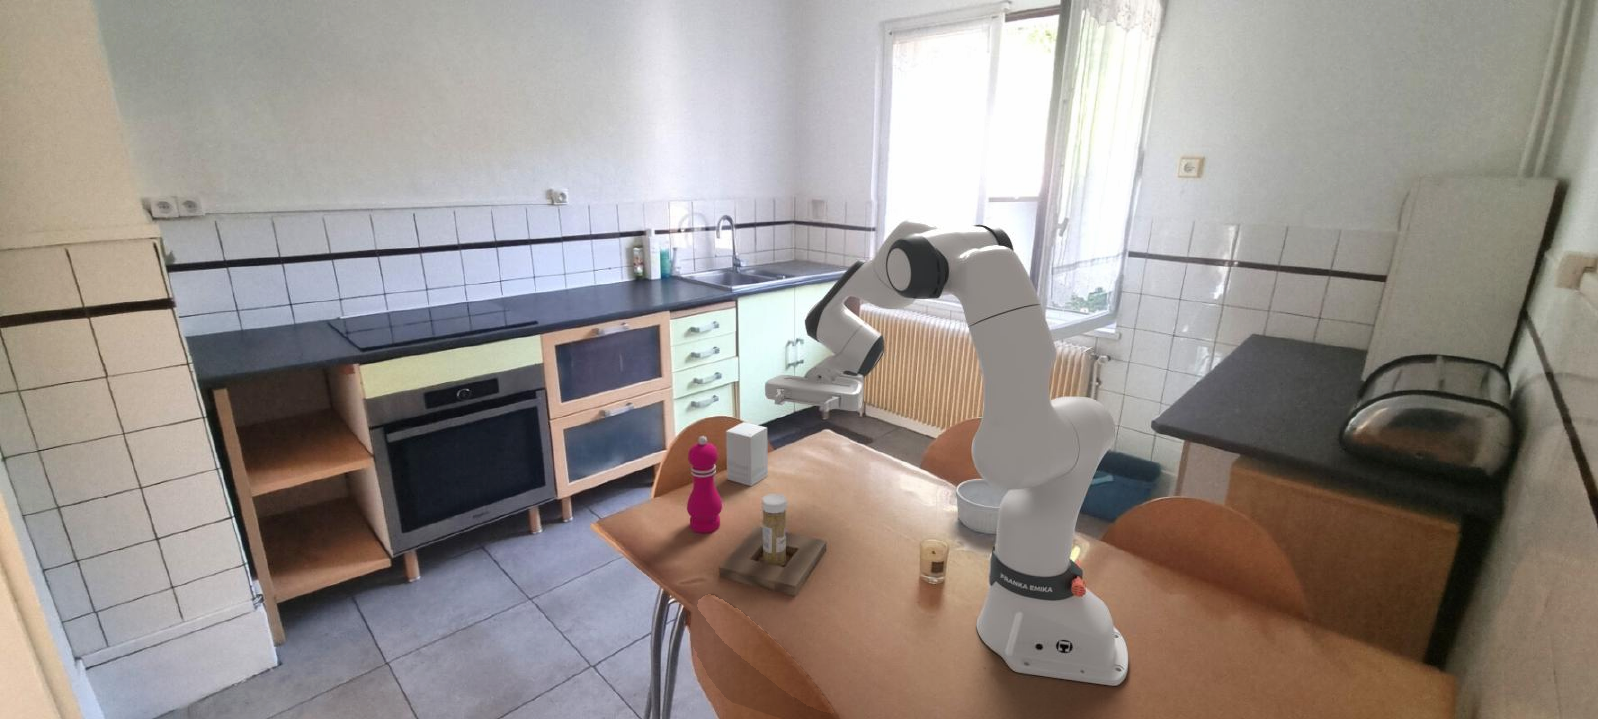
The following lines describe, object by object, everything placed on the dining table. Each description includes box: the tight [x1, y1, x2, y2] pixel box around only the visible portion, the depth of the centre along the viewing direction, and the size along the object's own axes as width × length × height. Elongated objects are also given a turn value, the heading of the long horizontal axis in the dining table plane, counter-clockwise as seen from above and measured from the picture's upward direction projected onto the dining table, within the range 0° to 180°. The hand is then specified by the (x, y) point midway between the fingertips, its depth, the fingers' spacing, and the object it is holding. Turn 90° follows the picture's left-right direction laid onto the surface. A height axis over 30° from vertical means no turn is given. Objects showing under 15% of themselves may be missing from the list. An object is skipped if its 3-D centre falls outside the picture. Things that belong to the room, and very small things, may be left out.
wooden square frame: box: [718, 525, 827, 597], centre depth 126 cm, size 15×16×2 cm
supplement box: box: [725, 421, 769, 487], centre depth 160 cm, size 7×7×13 cm
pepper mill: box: [686, 435, 723, 534], centre depth 137 cm, size 7×7×20 cm
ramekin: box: [955, 478, 1009, 535], centre depth 141 cm, size 13×13×7 cm
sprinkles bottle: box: [761, 493, 788, 567], centre depth 125 cm, size 5×5×13 cm
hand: (800, 404), depth 130 cm, fingers open, 8 cm apart
